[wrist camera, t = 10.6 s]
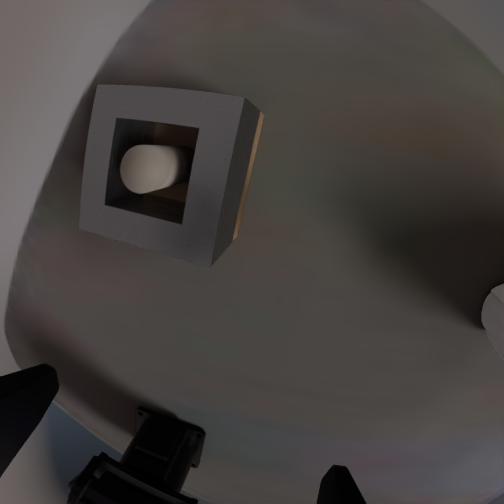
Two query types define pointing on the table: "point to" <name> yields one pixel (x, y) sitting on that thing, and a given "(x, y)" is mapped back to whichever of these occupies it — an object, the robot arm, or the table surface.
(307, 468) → the table surface
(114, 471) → the robot arm
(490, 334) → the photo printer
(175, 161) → the tan knobbed plate
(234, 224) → the hollow square frame
